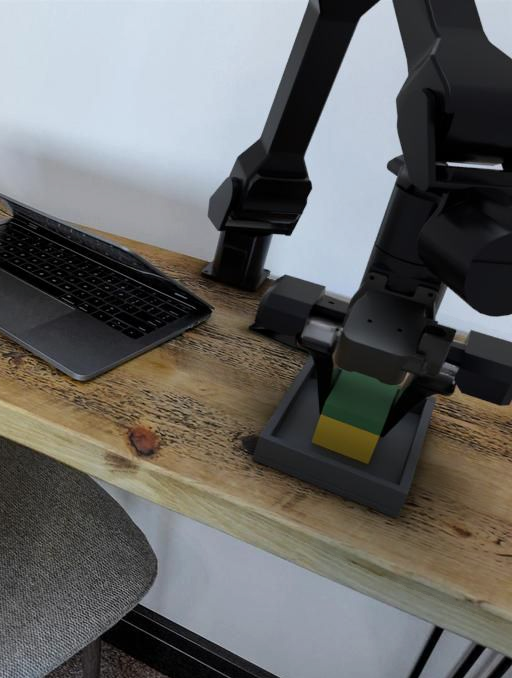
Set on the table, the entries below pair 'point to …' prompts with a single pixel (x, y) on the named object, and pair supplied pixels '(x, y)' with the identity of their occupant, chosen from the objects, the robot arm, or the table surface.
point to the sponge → (354, 415)
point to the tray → (334, 468)
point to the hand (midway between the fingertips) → (351, 423)
